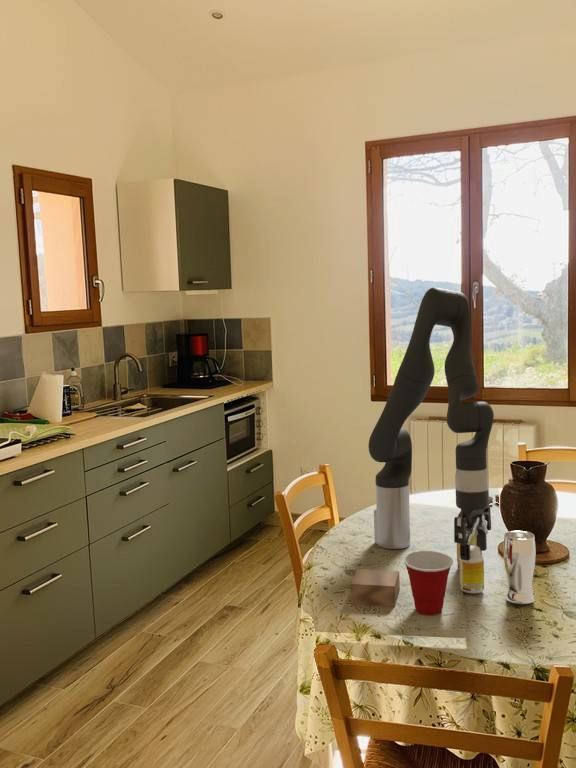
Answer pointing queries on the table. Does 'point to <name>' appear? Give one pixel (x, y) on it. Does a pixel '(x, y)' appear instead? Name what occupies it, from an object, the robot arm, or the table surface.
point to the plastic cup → (428, 579)
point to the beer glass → (519, 565)
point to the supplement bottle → (472, 572)
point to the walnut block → (375, 587)
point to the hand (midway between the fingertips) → (473, 554)
